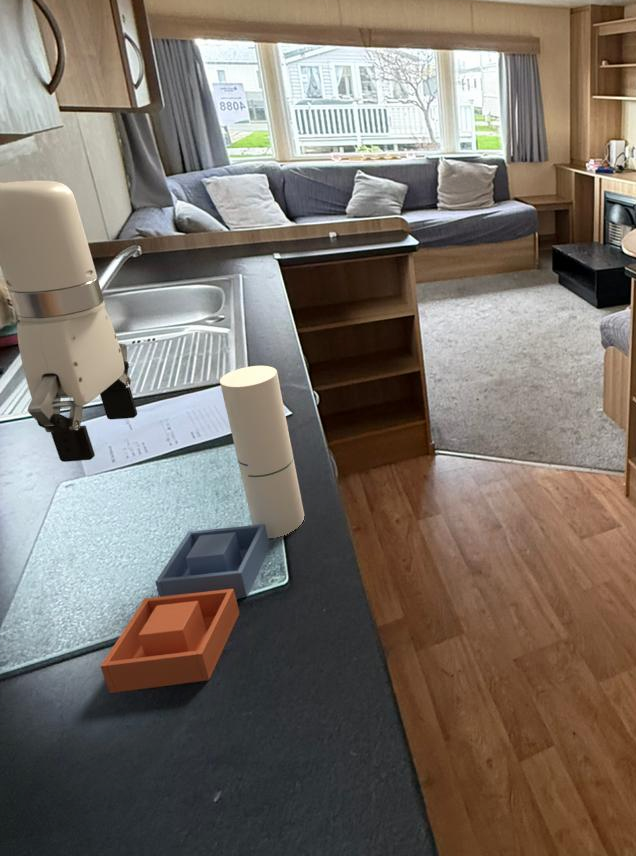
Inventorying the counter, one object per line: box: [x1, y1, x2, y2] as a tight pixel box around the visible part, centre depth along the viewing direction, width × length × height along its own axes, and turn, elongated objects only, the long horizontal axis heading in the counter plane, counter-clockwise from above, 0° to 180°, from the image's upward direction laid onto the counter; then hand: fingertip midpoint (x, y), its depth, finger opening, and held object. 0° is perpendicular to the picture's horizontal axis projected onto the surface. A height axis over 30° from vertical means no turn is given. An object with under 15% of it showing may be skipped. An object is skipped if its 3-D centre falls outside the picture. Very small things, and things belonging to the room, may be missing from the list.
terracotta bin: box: [99, 589, 240, 694], centre depth 77 cm, size 10×10×4 cm
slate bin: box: [155, 524, 271, 599], centre depth 89 cm, size 10×10×4 cm
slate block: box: [186, 532, 242, 575], centre depth 88 cm, size 5×5×5 cm
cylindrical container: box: [219, 365, 305, 539], centre depth 95 cm, size 7×7×25 cm
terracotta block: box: [139, 601, 206, 657], centre depth 76 cm, size 5×5×5 cm
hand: (101, 437), depth 76 cm, fingers open, 9 cm apart
